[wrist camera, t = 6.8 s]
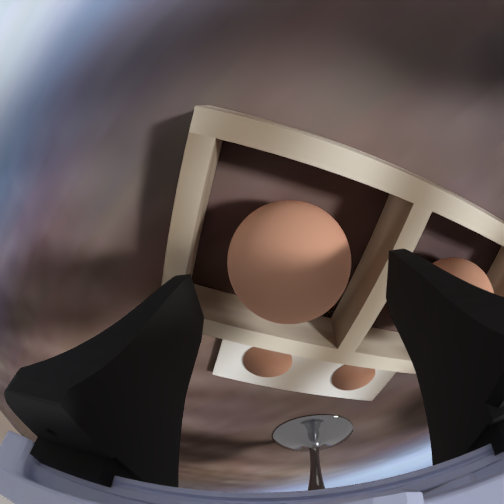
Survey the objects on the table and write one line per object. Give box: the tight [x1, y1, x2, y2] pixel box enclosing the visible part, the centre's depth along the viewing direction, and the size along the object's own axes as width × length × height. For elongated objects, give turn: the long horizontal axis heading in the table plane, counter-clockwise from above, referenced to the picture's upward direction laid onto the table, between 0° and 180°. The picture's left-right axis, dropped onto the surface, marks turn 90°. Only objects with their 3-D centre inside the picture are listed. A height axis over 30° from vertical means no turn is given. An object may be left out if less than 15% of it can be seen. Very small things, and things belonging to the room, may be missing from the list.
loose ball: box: [227, 200, 351, 324], centre depth 12 cm, size 5×5×5 cm
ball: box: [432, 258, 494, 293], centre depth 13 cm, size 5×5×5 cm
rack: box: [161, 105, 504, 401], centre depth 15 cm, size 19×16×2 cm
